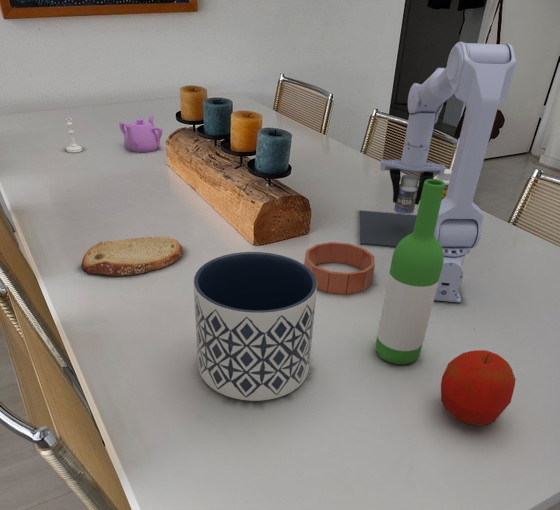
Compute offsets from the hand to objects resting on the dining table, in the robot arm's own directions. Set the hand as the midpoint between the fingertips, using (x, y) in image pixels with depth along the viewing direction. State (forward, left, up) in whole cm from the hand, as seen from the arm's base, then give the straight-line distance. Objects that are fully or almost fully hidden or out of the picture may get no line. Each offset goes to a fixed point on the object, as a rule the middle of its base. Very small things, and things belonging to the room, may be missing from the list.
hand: (405, 202), depth 131 cm
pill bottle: (0, 0, -3) cm, 3 cm away
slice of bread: (-28, +59, -8) cm, 66 cm away
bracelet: (-27, +15, -7) cm, 32 cm away
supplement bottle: (+17, -11, -8) cm, 22 cm away
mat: (0, 0, -7) cm, 7 cm away
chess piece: (+41, +101, -8) cm, 109 cm away
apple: (-67, -6, -8) cm, 68 cm away
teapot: (+49, +81, -8) cm, 95 cm away
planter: (-61, +28, -8) cm, 68 cm away
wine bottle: (-53, +4, -8) cm, 54 cm away
